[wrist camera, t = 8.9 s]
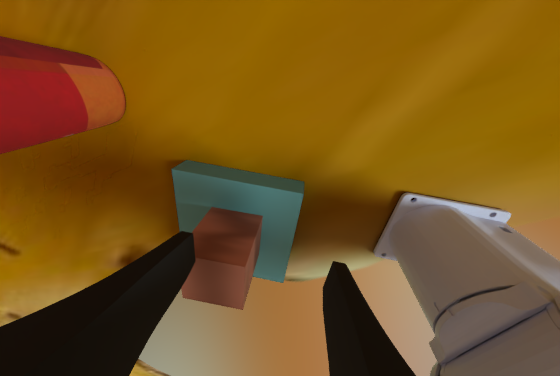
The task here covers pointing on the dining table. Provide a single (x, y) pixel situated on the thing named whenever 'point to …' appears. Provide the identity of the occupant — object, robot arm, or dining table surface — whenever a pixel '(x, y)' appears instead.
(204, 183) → the teal base board
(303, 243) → the dining table surface
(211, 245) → the red wood block
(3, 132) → the paper cup
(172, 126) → the dining table surface
